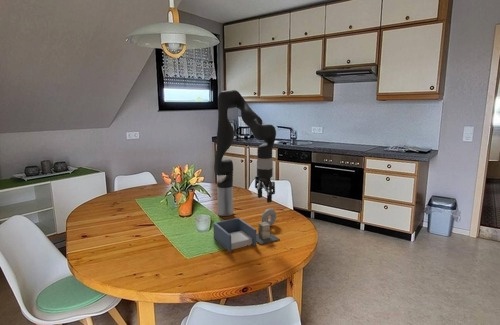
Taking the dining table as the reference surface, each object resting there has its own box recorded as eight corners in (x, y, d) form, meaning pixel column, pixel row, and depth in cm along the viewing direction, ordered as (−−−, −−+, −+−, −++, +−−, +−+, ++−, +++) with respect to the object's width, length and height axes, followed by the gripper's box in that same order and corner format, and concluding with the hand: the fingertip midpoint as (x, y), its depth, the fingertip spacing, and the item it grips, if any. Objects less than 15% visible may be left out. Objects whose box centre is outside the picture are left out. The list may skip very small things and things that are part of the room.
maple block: (258, 236, 157) (258, 223, 156) (265, 234, 159) (265, 221, 158) (262, 239, 154) (262, 225, 152) (269, 237, 155) (269, 224, 154)
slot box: (213, 237, 157) (213, 222, 156) (238, 232, 164) (238, 217, 162) (229, 252, 142) (229, 235, 140) (256, 245, 148) (256, 229, 147)
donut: (264, 229, 167) (264, 211, 165) (260, 227, 169) (260, 210, 168) (277, 224, 174) (277, 207, 172) (273, 223, 176) (273, 206, 174)
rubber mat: (249, 236, 158) (249, 235, 158) (267, 232, 164) (267, 231, 163) (260, 245, 149) (260, 243, 149) (279, 240, 154) (279, 239, 154)
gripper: (250, 165, 154) (250, 197, 157) (266, 170, 142) (265, 205, 145) (263, 163, 158) (263, 195, 161) (279, 168, 145) (279, 202, 148)
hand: (264, 199), depth 153 cm, fingers open, 8 cm apart
